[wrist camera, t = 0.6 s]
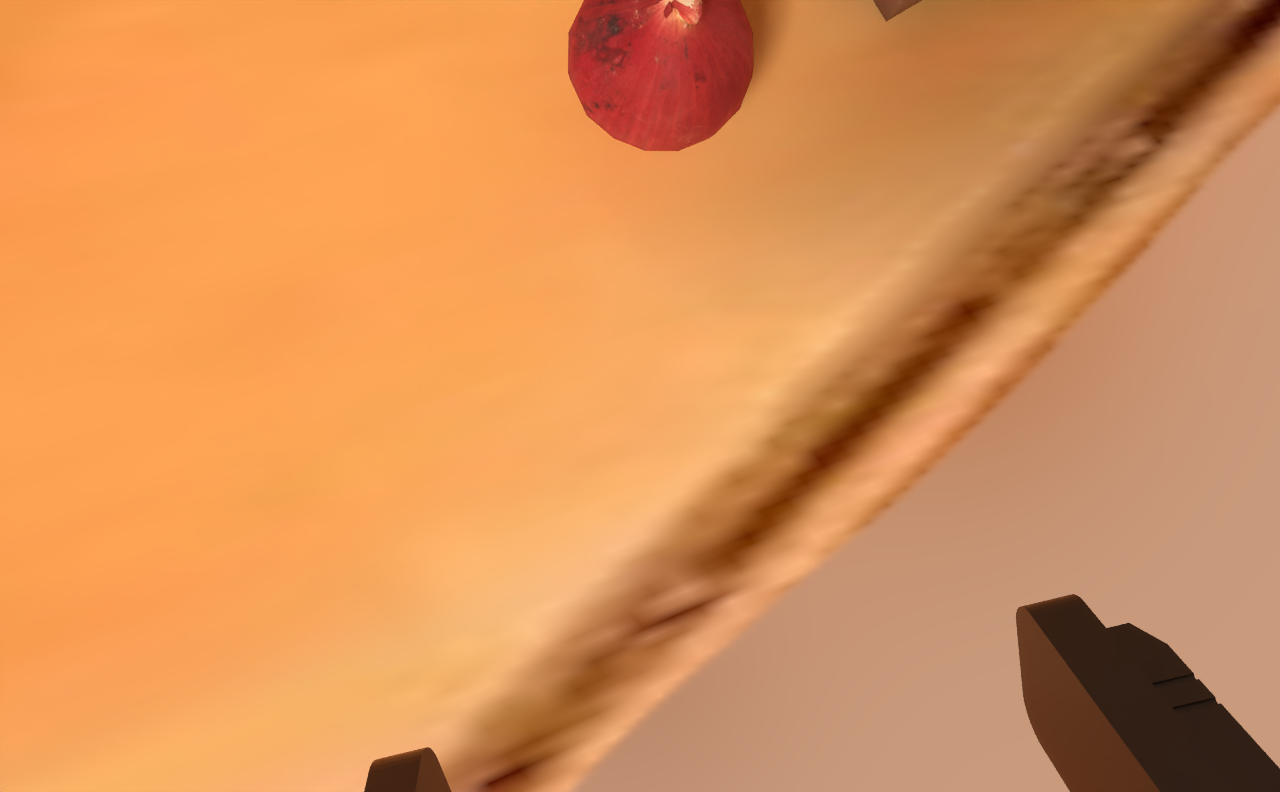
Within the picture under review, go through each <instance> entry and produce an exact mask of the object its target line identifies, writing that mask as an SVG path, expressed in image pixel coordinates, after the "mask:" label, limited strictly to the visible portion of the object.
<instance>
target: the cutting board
mask: <svg viewBox="0 0 1280 792" xmlns="http://www.w3.org/2000/svg"><path fill="white" fill-rule="evenodd" d="M920 1H921V0H874V2H875V4H876V5H877V7H878V8H879V10H880V12H881V13H882V15H883V17H884V18H885V20H886V21H888V20H889V19H891V18H893V17H894V16H896V15H898V14H899V13H901V12H903V11H905V10H906V9H908V8H910V7H911V6H913V5H915V4H916V3H918V2H920Z"/></svg>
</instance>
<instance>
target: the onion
mask: <svg viewBox="0 0 1280 792" xmlns="http://www.w3.org/2000/svg"><path fill="white" fill-rule="evenodd" d="M752 73H753V33H752V29H751V26H750V24H749V21H748V19H747V16H746V14H745V11H744V9H743V6H742V4H741V1H740V0H584V2H583V4H582V6H581V8H580V10H579V12H578V14H577V16H576V18H575V20H574V22H573V24H572V27H571V29H570V31H569V49H568V74H569V77H570V80H571V82H572V84H573V87H574V89H575V91H576V93H577V95H578V97H579V100H580V102H581V104H582V106H583V108H584V110H585V112H586V115H587V116H588V117H589V118H591V119H592V120H593V121H594V122H595V123H596V124H598V125H599V126H600V127H601V128H602V129H604V130H605V131H606V132H607V133H608V134H610V135H611V136H612V137H613V138H614V139H617V140H620V141H622V142H625V143H627V144H630V145H632V146H635V147H637V148H640V149H642V150H645V151H679V150H682V149H684V148H687V147H689V146H692V145H694V144H696V143H699V142H701V141H704V140H706V139H709V138H710V137H711V136H713V135H714V134H716V133H717V131H718V130H719V129H720V128H721V127H722V126H723V125H724V124H725V123H726V122H727V121H728V120H729V119H730V118H731V117H732V116H733V115H734V114H735V113H736V112H737V111H738V110H739V109H740V107H741V104H742V102H743V99H744V96H745V94H746V91H747V88H748V86H749V83H750V80H751V78H752Z"/></svg>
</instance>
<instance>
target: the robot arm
mask: <svg viewBox="0 0 1280 792" xmlns="http://www.w3.org/2000/svg"><path fill="white" fill-rule="evenodd" d="M1016 623H1017V635H1018V645H1019V656H1020V667H1021V677H1022V687H1023V688H1022V689H1023V697H1024V702H1025V706H1026V710H1027V713H1028V717H1029V720H1030V723H1031V725H1032V727H1033V730H1034V732H1035V734H1036V736H1037V738H1038V740H1039V742H1040V744H1041V746H1042V747H1043V749H1044V751H1045V752H1046V754H1047V755H1048V757H1049V759H1050V760H1051V762H1052V763H1053V765H1054V766H1055V768H1056V770H1057V771H1058V773H1059V774H1060V776H1061V778H1062V779H1063V781H1064V783H1065V784H1066V786H1067V787H1068V789H1069V790H1070V792H1280V769H1279V767H1278V766H1277V765H1276V764H1275V763H1274V762H1273V761H1272V760H1271V759H1270V757H1269V756H1268V755H1267V754H1266V753H1265V752H1264V751H1263V750H1262V749H1261V747H1260V746H1259V745H1258V744H1257V743H1256V742H1255V741H1254V740H1253V739H1252V737H1251V736H1250V735H1249V734H1248V733H1247V732H1246V731H1245V730H1244V729H1243V727H1242V726H1241V725H1240V724H1239V723H1238V722H1237V721H1236V720H1235V719H1234V718H1233V716H1231V714H1230V713H1229V712H1228V711H1227V710H1226V709H1225V708H1224V706H1223V705H1222V704H1218V703H1217V702H1216V699H1215V696H1214V695H1213V694H1212V693H1211V692H1210V691H1209V690H1208V689H1207V688H1206V686H1205V685H1204V684H1203V683H1202V682H1201V681H1200V680H1199V679H1198V680H1196V679H1195V677H1194V673H1193V672H1192V671H1191V670H1190V669H1189V668H1188V667H1187V666H1186V664H1184V662H1183V661H1182V660H1181V659H1180V658H1179V657H1178V655H1177V654H1176V653H1175V652H1174V651H1173V650H1172V649H1171V648H1170V647H1169V645H1168V644H1166V643H1164V642H1162V641H1161V640H1159V639H1157V638H1155V637H1153V636H1152V635H1150V634H1148V633H1146V632H1144V631H1142V630H1141V629H1139V628H1137V627H1135V626H1134V625H1132V624H1130V623H1126V624H1122V625H1119V626H1114V627H1110V628H1106V627H1105V626H1104V625H1103V624H1102V623H1101V621H1100V620H1099V619H1098V618H1097V617H1096V615H1095V614H1094V613H1093V612H1092V611H1091V609H1090V608H1089V607H1088V606H1087V605H1086V603H1085V602H1084V601H1083V600H1082V599H1081V598H1080V597H1079V596H1077V595H1074V594H1072V595H1068V596H1064V597H1059V598H1055V599H1051V600H1047V601H1043V602H1039V603H1034V604H1030V605H1026V606H1022V607H1019V608H1018V609H1017V613H1016ZM364 792H451V790H450V787H449V785H448V783H447V780H446V778H445V776H444V773H443V771H442V768H441V766H440V764H439V761H438V759H437V757H436V755H435V753H434V752H433V750H432V749H431V748H428V747H427V748H423V749H418V750H414V751H410V752H406V753H402V754H398V755H393V756H389V757H385V758H381V759H377V760H375V761H374V762H373V763H372V764H371V766H370V770H369V773H368V778H367V782H366V786H365V791H364Z"/></svg>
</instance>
